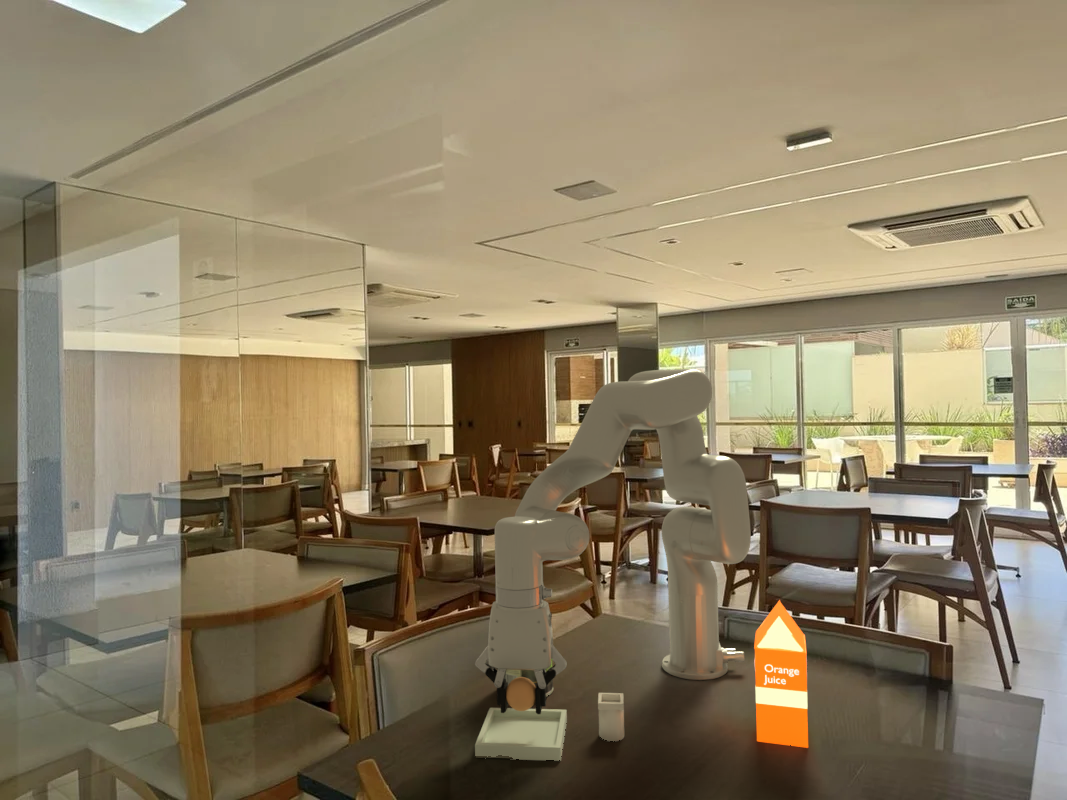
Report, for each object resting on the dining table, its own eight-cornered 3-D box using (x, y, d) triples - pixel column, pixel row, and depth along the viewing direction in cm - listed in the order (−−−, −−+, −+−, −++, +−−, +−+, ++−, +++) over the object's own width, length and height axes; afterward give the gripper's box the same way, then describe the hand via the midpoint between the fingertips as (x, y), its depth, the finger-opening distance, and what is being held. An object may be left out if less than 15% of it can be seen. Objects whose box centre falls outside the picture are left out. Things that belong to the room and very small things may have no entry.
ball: (539, 703, 117) (538, 672, 117) (535, 717, 112) (534, 684, 112) (508, 702, 118) (507, 671, 118) (503, 716, 113) (503, 684, 113)
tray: (566, 721, 121) (566, 709, 121) (560, 760, 108) (560, 747, 108) (490, 719, 123) (489, 707, 123) (475, 758, 110) (474, 744, 110)
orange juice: (807, 722, 119) (804, 601, 118) (809, 748, 110) (806, 617, 110) (757, 717, 121) (754, 597, 121) (755, 741, 113) (752, 613, 113)
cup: (624, 730, 118) (623, 693, 118) (624, 741, 114) (623, 703, 114) (599, 729, 118) (598, 692, 118) (598, 741, 114) (597, 703, 114)
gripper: (574, 590, 118) (576, 701, 118) (471, 588, 120) (473, 698, 120) (571, 603, 111) (573, 722, 111) (461, 601, 113) (464, 718, 113)
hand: (521, 708), depth 115 cm, fingers closed on ball, 4 cm apart
